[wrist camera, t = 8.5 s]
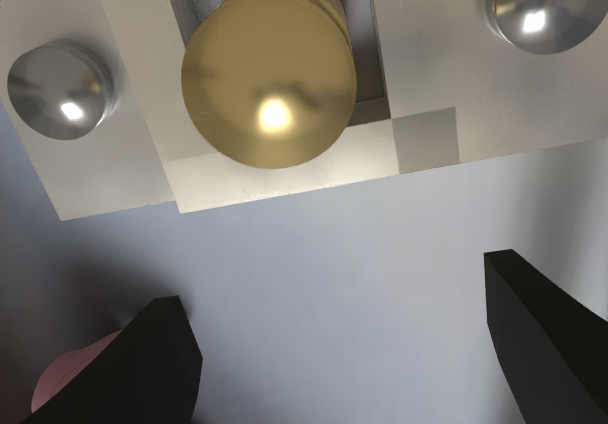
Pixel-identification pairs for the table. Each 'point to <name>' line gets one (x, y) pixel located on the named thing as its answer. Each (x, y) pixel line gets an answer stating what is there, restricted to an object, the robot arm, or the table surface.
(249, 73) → the brass pin
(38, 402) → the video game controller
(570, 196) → the table surface
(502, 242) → the table surface
